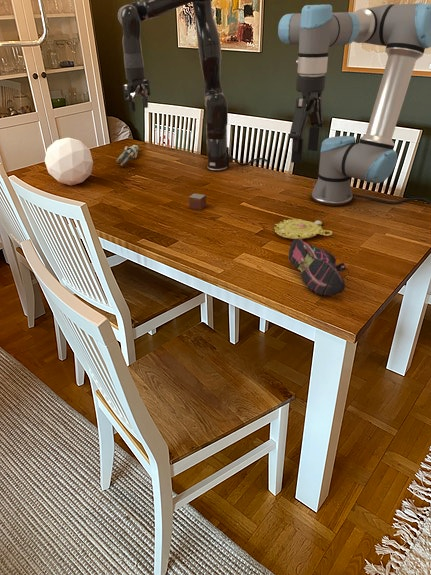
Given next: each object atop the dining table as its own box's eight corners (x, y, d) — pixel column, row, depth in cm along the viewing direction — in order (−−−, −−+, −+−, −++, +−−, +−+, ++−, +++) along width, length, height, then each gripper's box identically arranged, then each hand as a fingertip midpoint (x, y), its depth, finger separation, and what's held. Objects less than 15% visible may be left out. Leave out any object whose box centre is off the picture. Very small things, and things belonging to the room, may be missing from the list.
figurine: (121, 147, 205) (136, 136, 231) (111, 160, 208) (127, 147, 235) (133, 159, 207) (147, 145, 233) (123, 171, 210) (137, 157, 237)
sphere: (65, 197, 199) (41, 157, 196) (104, 175, 201) (80, 136, 198) (57, 189, 180) (29, 146, 177) (100, 165, 182) (73, 122, 180)
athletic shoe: (331, 285, 107) (371, 277, 111) (291, 223, 118) (328, 219, 123) (315, 312, 115) (352, 304, 120) (279, 253, 127) (314, 247, 131)
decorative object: (286, 211, 157) (342, 219, 147) (286, 217, 158) (341, 226, 148) (260, 233, 142) (319, 243, 133) (260, 240, 144) (319, 251, 134)
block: (195, 204, 170) (194, 193, 167) (206, 206, 168) (205, 195, 165) (189, 208, 167) (188, 196, 164) (201, 210, 165) (200, 198, 162)
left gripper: (137, 63, 179) (142, 105, 188) (115, 67, 169) (121, 112, 178) (152, 63, 176) (156, 107, 185) (130, 68, 166) (136, 113, 175)
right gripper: (313, 68, 126) (307, 144, 137) (279, 80, 108) (275, 166, 119) (339, 69, 123) (330, 146, 134) (308, 82, 105) (301, 170, 116)
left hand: (139, 109), depth 181 cm, fingers open, 8 cm apart
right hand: (304, 156), depth 127 cm, fingers open, 13 cm apart
